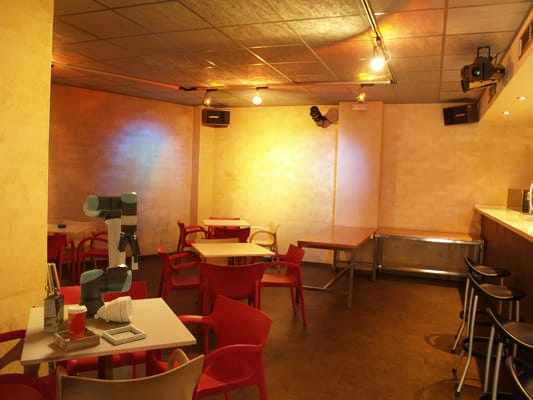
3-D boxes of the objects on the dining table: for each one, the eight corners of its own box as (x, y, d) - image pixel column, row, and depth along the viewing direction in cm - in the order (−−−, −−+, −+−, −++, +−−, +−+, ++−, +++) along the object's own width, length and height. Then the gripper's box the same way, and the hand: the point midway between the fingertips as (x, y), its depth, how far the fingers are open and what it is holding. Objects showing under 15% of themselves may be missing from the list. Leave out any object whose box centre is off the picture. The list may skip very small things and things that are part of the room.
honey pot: (130, 326, 231) (94, 331, 229) (134, 312, 243) (100, 317, 241) (125, 304, 226) (88, 309, 225) (129, 291, 239) (95, 296, 237)
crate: (53, 341, 204) (53, 333, 203) (87, 335, 214) (87, 326, 214) (65, 351, 193) (65, 342, 192) (99, 343, 203) (100, 335, 202)
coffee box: (57, 332, 216) (57, 299, 215) (43, 332, 215) (43, 299, 215) (64, 326, 225) (64, 294, 224) (50, 326, 225) (50, 294, 224)
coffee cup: (70, 337, 207) (70, 305, 206) (89, 337, 208) (89, 305, 207) (64, 344, 199) (64, 310, 198) (83, 344, 199) (83, 310, 199)
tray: (101, 335, 213) (102, 331, 213) (131, 329, 223) (131, 325, 223) (115, 344, 202) (115, 340, 202) (146, 337, 212) (146, 333, 212)
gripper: (110, 222, 228) (110, 264, 229) (133, 226, 210) (132, 272, 211) (125, 221, 233) (124, 262, 234) (148, 226, 215) (147, 270, 216)
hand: (128, 267), depth 222 cm, fingers open, 13 cm apart
